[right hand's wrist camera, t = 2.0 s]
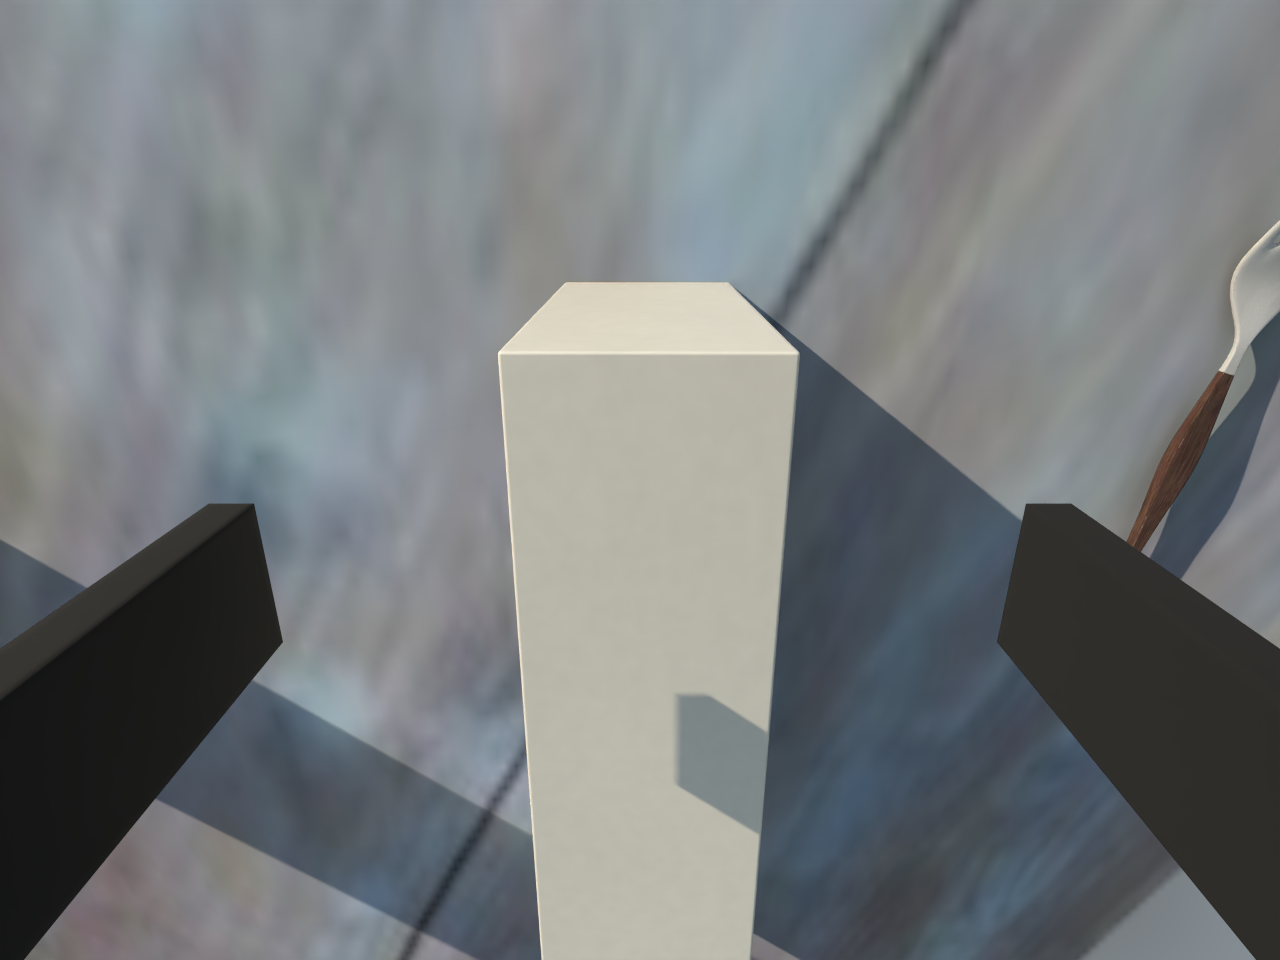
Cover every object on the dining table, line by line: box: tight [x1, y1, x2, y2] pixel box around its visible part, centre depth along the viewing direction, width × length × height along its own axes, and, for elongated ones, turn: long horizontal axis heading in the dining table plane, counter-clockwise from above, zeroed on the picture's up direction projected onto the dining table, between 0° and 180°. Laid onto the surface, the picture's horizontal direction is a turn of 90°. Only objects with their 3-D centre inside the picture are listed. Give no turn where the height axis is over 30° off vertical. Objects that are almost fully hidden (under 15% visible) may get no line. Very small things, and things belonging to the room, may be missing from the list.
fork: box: [1127, 221, 1280, 552], centre depth 26 cm, size 3×16×2 cm, turn 167°
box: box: [498, 282, 800, 960], centre depth 25 cm, size 27×6×13 cm, turn 0°
